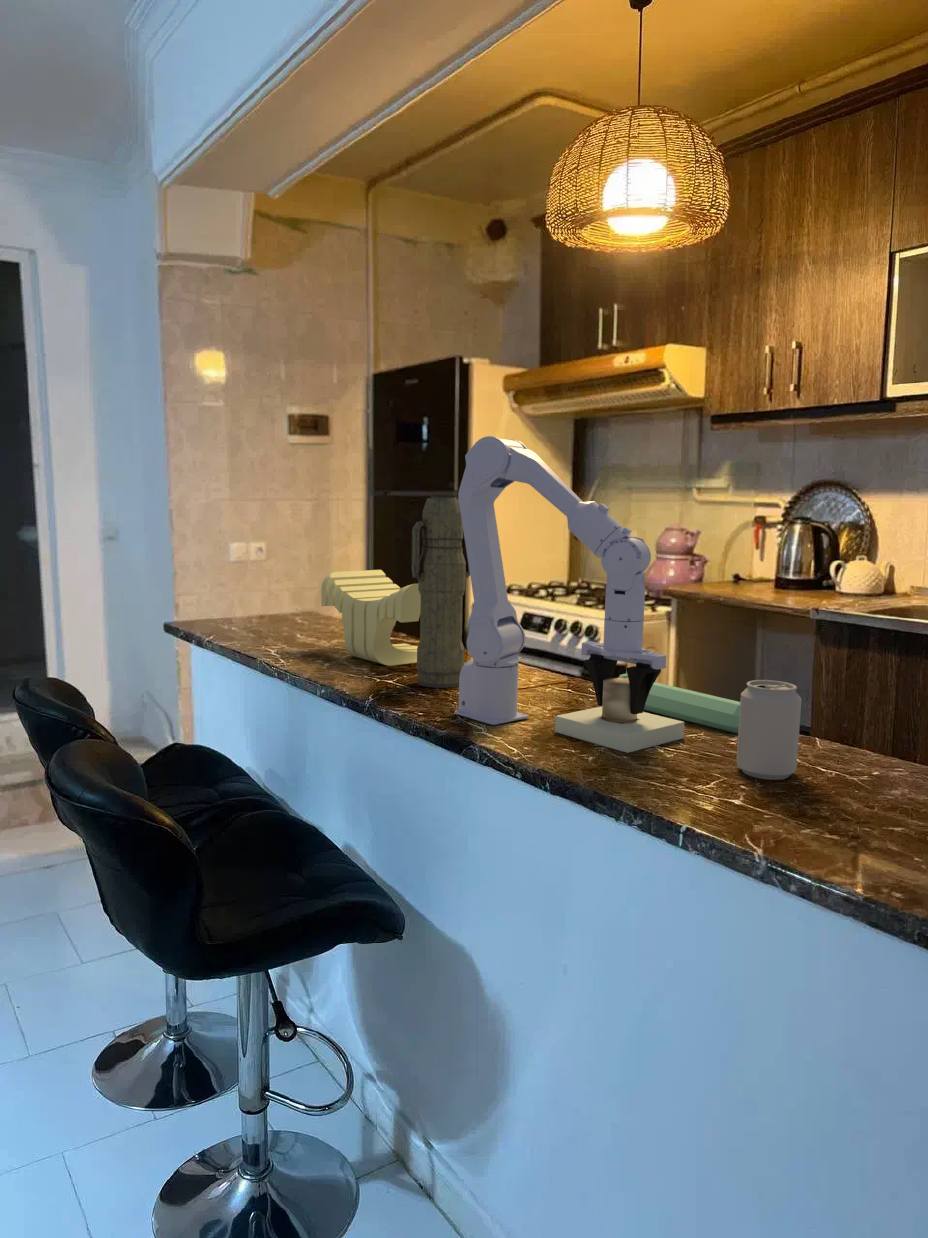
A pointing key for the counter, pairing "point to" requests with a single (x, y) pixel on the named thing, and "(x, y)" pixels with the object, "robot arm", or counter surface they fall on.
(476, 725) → the counter surface
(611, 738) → the board
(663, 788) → the counter surface
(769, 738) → the can
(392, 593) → the slatted curved stool
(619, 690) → the peg
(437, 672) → the thermos
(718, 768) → the counter surface
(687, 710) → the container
